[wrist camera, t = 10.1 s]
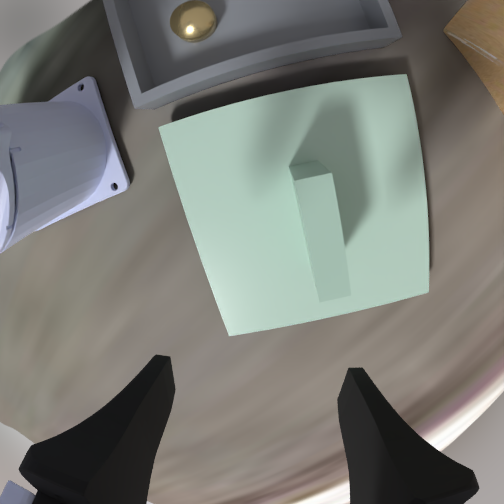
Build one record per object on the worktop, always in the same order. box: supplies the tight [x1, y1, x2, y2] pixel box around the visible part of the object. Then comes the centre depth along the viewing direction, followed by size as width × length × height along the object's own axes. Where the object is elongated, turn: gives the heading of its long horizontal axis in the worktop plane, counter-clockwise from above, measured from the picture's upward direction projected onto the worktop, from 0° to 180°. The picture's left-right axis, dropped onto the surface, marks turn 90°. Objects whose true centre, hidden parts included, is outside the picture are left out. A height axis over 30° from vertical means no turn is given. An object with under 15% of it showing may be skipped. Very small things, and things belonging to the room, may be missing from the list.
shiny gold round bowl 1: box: [170, 0, 217, 43], centre depth 14 cm, size 2×2×1 cm
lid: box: [159, 74, 429, 336], centre depth 16 cm, size 14×14×5 cm
